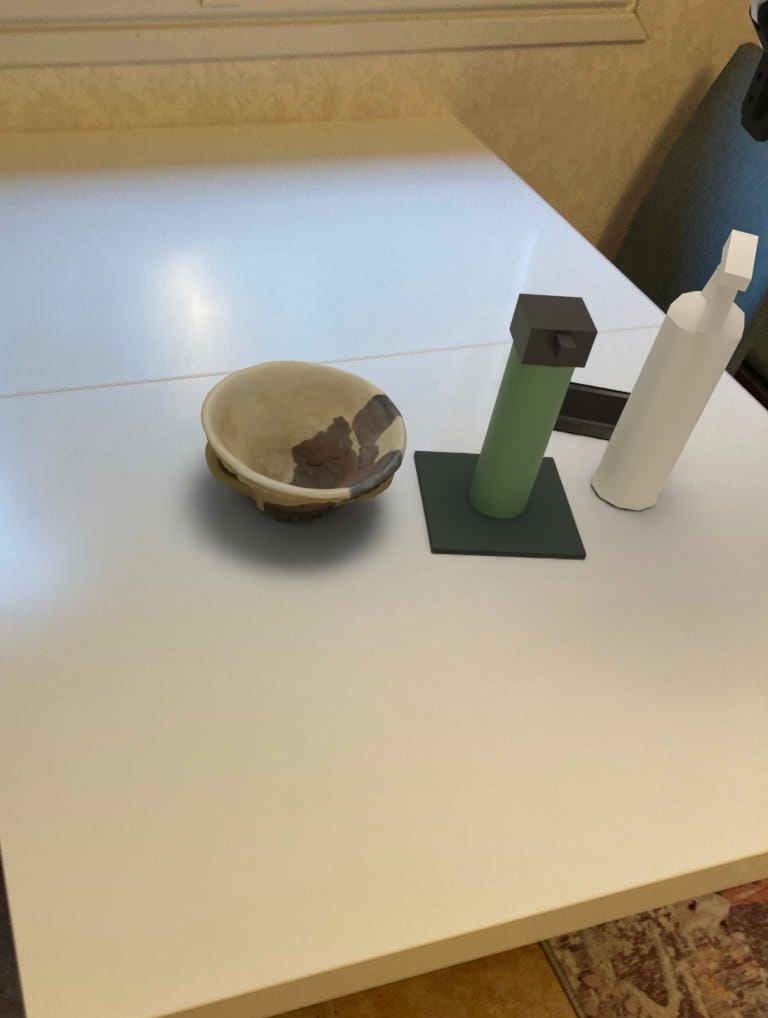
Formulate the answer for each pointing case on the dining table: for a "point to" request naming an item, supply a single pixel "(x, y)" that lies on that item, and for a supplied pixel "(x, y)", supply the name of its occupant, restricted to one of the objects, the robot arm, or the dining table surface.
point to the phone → (591, 410)
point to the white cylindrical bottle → (676, 382)
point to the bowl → (302, 438)
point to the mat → (471, 532)
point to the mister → (530, 399)
